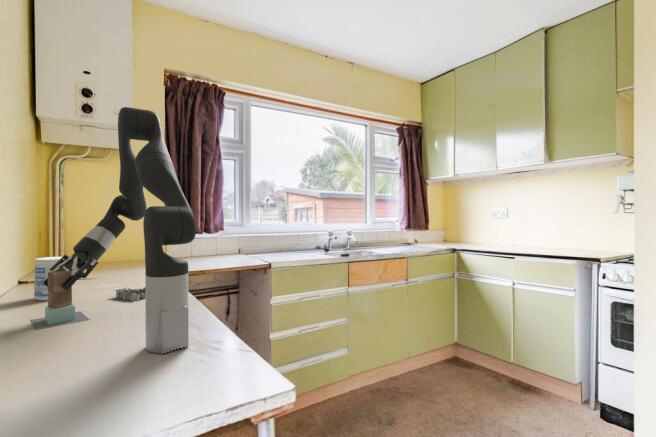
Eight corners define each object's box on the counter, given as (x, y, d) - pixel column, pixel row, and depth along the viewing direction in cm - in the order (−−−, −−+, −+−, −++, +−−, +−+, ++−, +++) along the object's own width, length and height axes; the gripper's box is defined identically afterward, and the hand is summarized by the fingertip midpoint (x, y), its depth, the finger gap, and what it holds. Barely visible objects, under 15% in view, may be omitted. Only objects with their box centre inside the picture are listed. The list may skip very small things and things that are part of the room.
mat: (90, 320, 99) (90, 319, 99) (36, 331, 90) (36, 329, 90) (80, 312, 107) (80, 311, 107) (30, 321, 98) (30, 319, 98)
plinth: (75, 319, 99) (75, 306, 99) (48, 324, 94) (48, 310, 94) (70, 315, 103) (70, 302, 103) (45, 319, 98) (45, 306, 98)
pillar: (71, 305, 100) (71, 271, 99) (56, 308, 96) (56, 273, 96) (63, 303, 101) (63, 270, 101) (48, 307, 97) (47, 272, 97)
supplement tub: (30, 302, 118) (30, 260, 118) (38, 296, 126) (38, 257, 126) (65, 299, 123) (65, 258, 122) (70, 293, 131) (70, 255, 131)
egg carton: (151, 298, 127) (151, 287, 126) (132, 302, 120) (132, 291, 119) (131, 294, 131) (131, 284, 131) (112, 299, 124) (112, 288, 124)
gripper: (72, 235, 108) (28, 277, 97) (101, 236, 102) (59, 281, 92) (89, 250, 113) (50, 291, 102) (118, 252, 107) (80, 296, 97)
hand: (54, 287), depth 97 cm, fingers open, 8 cm apart
